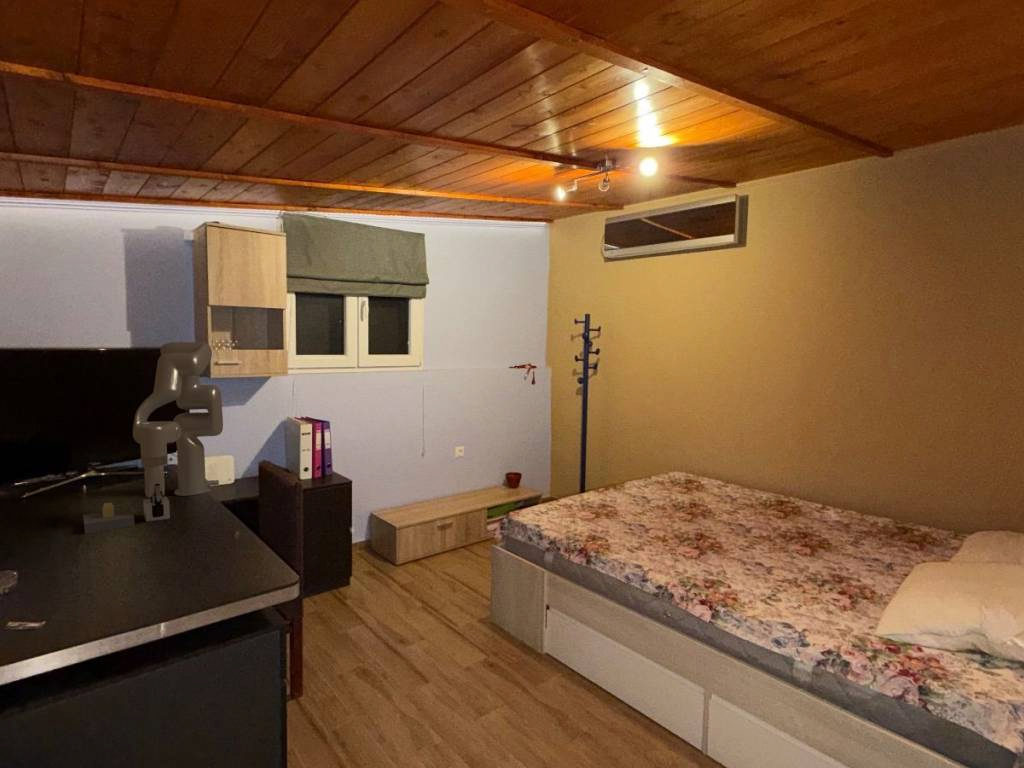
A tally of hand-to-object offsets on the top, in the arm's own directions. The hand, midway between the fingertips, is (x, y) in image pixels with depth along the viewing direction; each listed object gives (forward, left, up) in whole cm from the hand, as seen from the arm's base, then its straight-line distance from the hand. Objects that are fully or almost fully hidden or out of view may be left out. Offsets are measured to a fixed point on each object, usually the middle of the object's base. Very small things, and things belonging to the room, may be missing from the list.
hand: (156, 513), depth 204 cm
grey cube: (0, 0, -1) cm, 1 cm away
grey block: (+13, 0, -1) cm, 14 cm away
